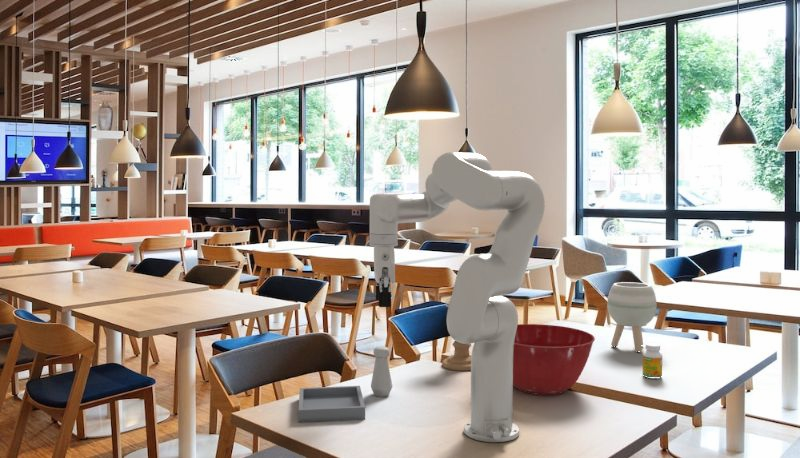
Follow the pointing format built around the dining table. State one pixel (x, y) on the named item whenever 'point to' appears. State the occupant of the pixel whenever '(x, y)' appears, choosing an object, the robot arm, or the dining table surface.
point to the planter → (631, 309)
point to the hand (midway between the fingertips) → (383, 303)
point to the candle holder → (458, 356)
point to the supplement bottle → (652, 361)
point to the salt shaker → (381, 373)
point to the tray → (331, 404)
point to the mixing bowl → (549, 357)
